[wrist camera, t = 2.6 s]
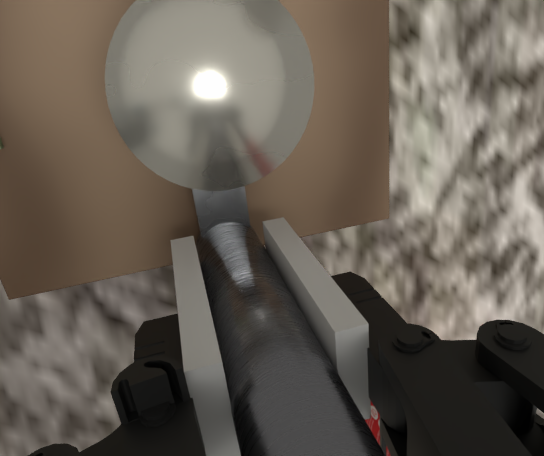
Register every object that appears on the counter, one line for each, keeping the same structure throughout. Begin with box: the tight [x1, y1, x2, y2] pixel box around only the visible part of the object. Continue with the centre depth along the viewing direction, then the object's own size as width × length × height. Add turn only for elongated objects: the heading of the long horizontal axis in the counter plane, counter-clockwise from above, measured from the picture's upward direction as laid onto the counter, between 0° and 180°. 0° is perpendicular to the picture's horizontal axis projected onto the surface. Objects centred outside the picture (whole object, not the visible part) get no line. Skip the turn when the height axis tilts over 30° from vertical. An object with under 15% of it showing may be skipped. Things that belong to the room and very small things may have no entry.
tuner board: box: [0, 0, 389, 300], centre depth 14 cm, size 15×17×3 cm
